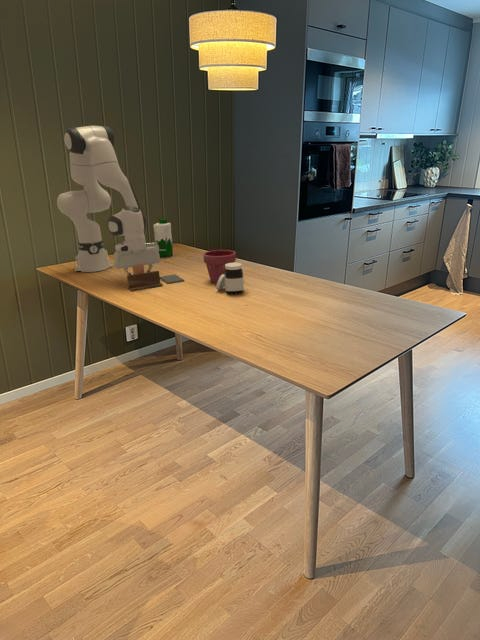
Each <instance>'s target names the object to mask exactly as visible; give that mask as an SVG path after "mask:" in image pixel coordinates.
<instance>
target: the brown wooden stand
mask: <svg viewBox="0 0 480 640" xmlns="http://www.w3.org/2000/svg"><path fill="white" fill-rule="evenodd" d="M160 277H161V276H160V271H159V270H155V271H151V272H147V271H146V272H144V273H140V274H131V275H127V274H126V278H127V279H126V280H127V287H128V288H127V289H128V290H129V291H130V292H137V291H143V290H148V289H154V288H159V287H164V284H163V283H161V279H160Z"/></svg>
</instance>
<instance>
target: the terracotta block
mask: <svg viewBox="0 0 480 640" xmlns="http://www.w3.org/2000/svg"><path fill="white" fill-rule="evenodd" d="M132 273H133V274H132V275H134V274H140V273H145V265H144V264H138V265H135V266H134V267H132Z"/></svg>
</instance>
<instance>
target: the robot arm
mask: <svg viewBox="0 0 480 640" xmlns="http://www.w3.org/2000/svg"><path fill="white" fill-rule="evenodd" d="M115 138H116V137H115V134H114V131H113V130H112V129H111V127H109V126H106V125H87V126H80V127H79V126H78V127H75V126H74V127H69V128H68V129H67V128H66V130H65V131H64V134H63V140H64V142H63V143H64V145H65V148H66V150H67V151H68V152H69V168H70V177H71V179H72V180H73V181H74V183H76V184H78V185H80V186H83V189H82V190H71V191H66V192H63V193H60V194H59V195H58V196H57V199H56V205H57V208H58V210H59V212H61V213H62V214H63V215H65V216H66V217H67V218H69V219H70V221H72V223H73V225H74V226H75V229H76V233H77V238H78V243H77V244H78V245H77V246H78V254H77V255H76V256H75V257H74V258H75V261H76V264H75V268H74V269H75V272H76V271H81V272H82V273H83V272H84V273H94V272H100V271H104V270H108V269H109V268H111V267H115V268H116V269H117V270H119V269H123V270H124V272H125V273H126V276H127V275H132V272H130V271H128V270H129V268H133V267H134V266H135V265H138V264H144V266H146V265H148V268H147V269H146V273H147V272H152V271H151V270H152V269H153V264H159V263H160V262H161V258H160V255H159V252H158V251H159V245H158V244H157V243H155V241H153V242H146V236H145V230H146V228H147V225H148V220H147V218H146V216H145V213H144V212H143V210H142V208H141V206H140V203H139V201H138V198H137V195H136V193H135V190H134V188H133V186H132V183H131V181H130V179H129V177H128V176H126V175H125V174H124V173H123V171H122V169H121V167H120V165H119V161H118V158H117V154H116V152H115V148H114V146H115V144H116V139H115ZM99 183H100V184H101V185H103V186H104V187H108V188H112V189H113V190H115V191H117V192H118V193H120V195H121V196H122V198H123V200H124V203H125V205H126V206H125V207H123V208H122V209H121V211H119V212H118V213H114V214H112V215H110V216H109V218H108V219H107V229H108V231H109V233H110V234H111V235H113V236H114V237H122V236H124V241H122V242H120V243H117V244H116V245H114V250H115V251H114V254H113V263H111V262H110V259H109V255H108V251H107V250H106V249H105V247H104V241H103V239H102V233H101V227H100V224H99V223H98V222H96V221H94V220H92V219H89V218H88V216H87V214H92V213H100V212H103V211H106V210H109V209H110V207H111V204H112V199H111V198H112V197H111V195H110V194H109V192H108V191H107V190H106V189H104V188H103V187H101V185H100V184H99ZM155 244H157V245H155Z"/></svg>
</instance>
